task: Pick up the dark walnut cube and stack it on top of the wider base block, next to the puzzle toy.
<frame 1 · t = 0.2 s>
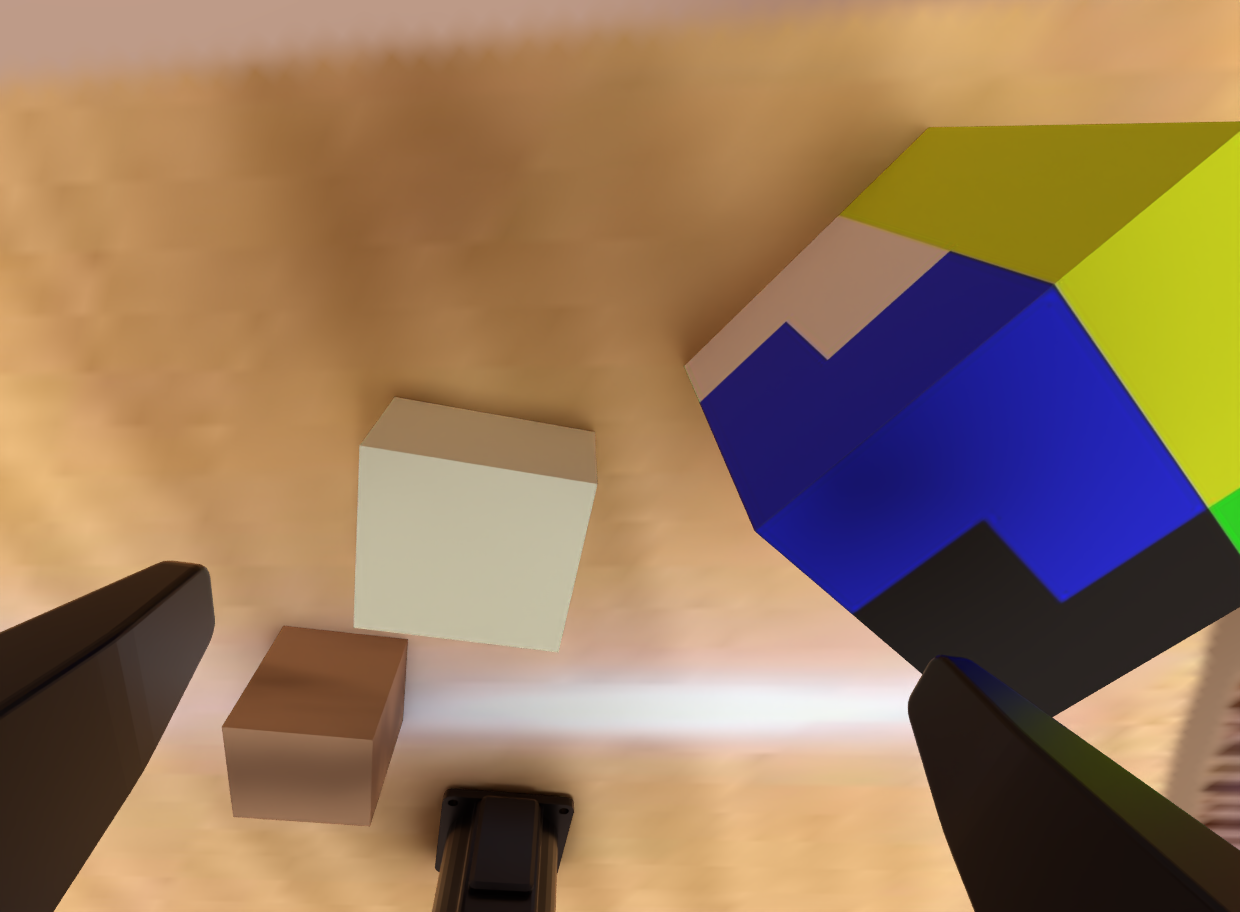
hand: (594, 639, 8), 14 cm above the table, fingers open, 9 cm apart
base block: (486, 495, 23), on the table
puzzle toy: (883, 355, 22), on the table
walnut cube: (347, 674, 27), on the table
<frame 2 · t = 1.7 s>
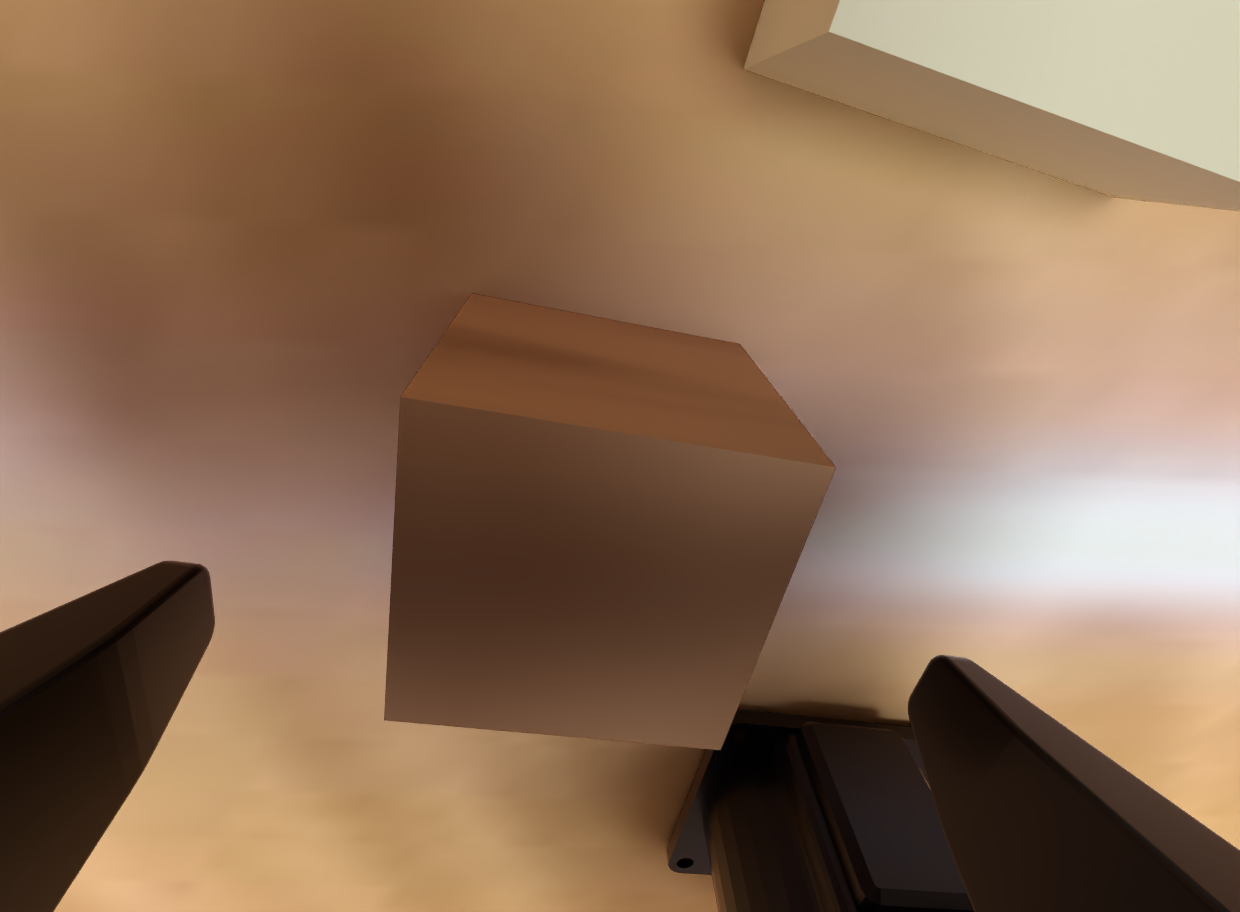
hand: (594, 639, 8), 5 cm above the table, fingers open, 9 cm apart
walnut cube: (585, 439, 12), on the table
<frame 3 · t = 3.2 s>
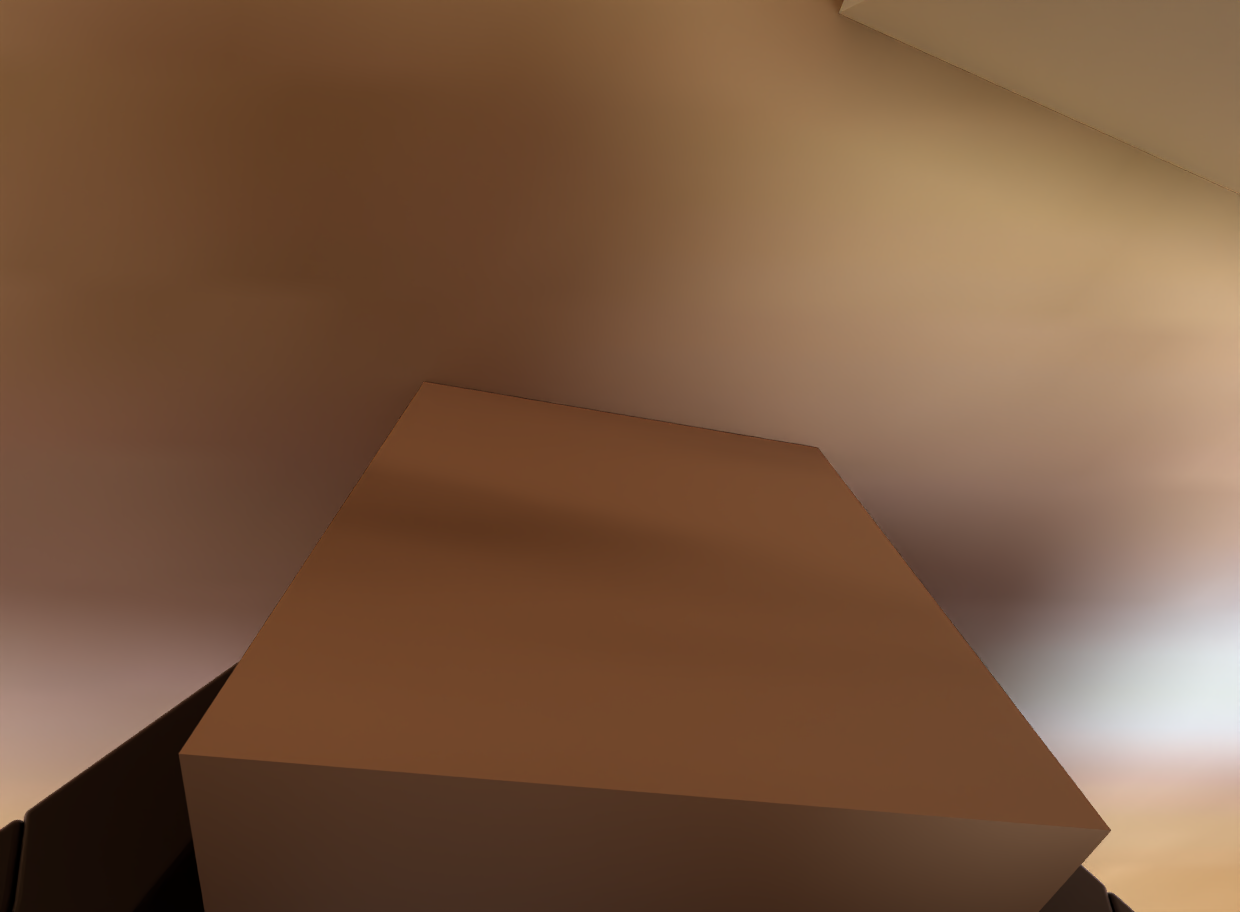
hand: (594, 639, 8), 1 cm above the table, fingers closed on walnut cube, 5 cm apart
walnut cube: (593, 575, 9), on the table, touching gripper
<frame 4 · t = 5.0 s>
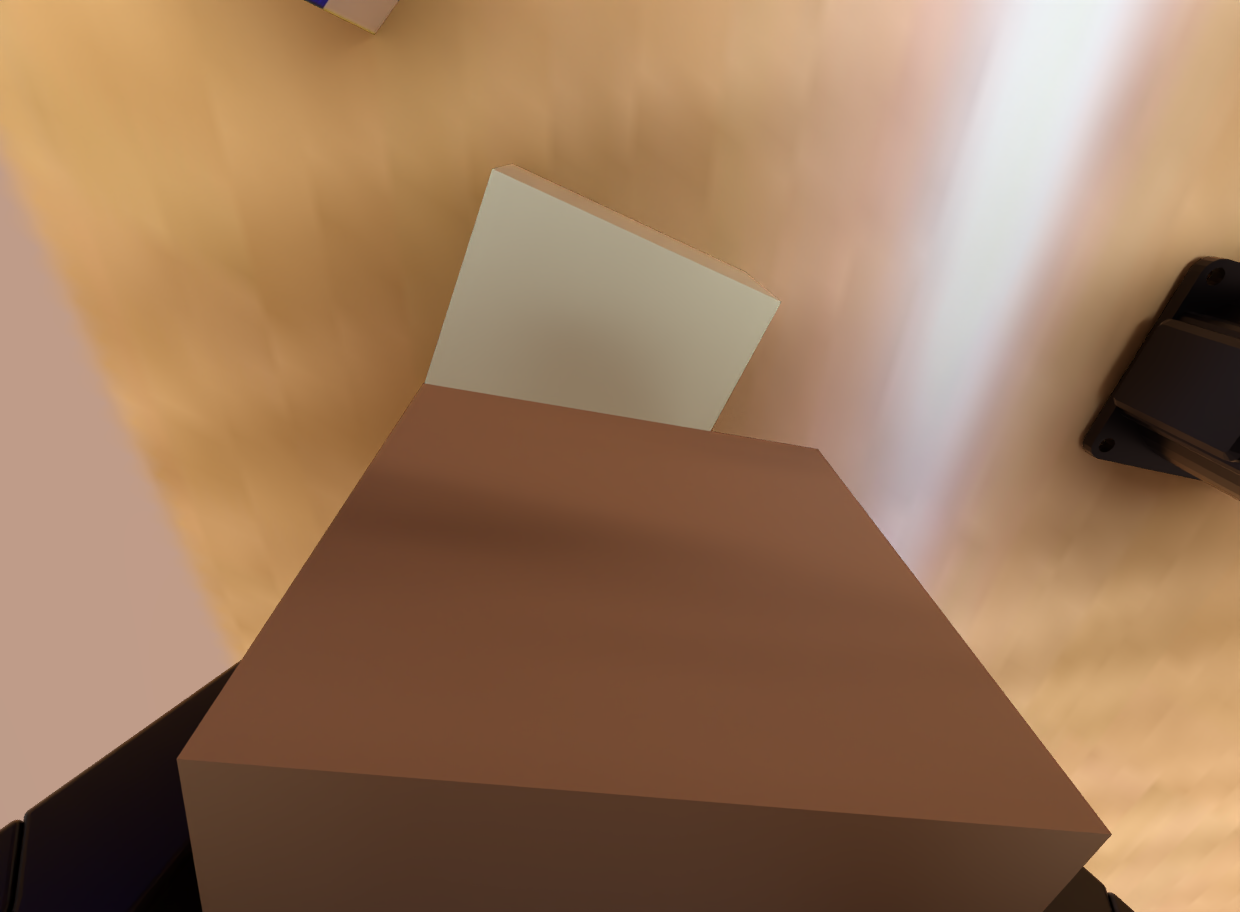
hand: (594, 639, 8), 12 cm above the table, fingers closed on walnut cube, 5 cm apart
base block: (585, 333, 19), on the table
walnut cube: (593, 577, 9), point 11 cm above the table, touching gripper
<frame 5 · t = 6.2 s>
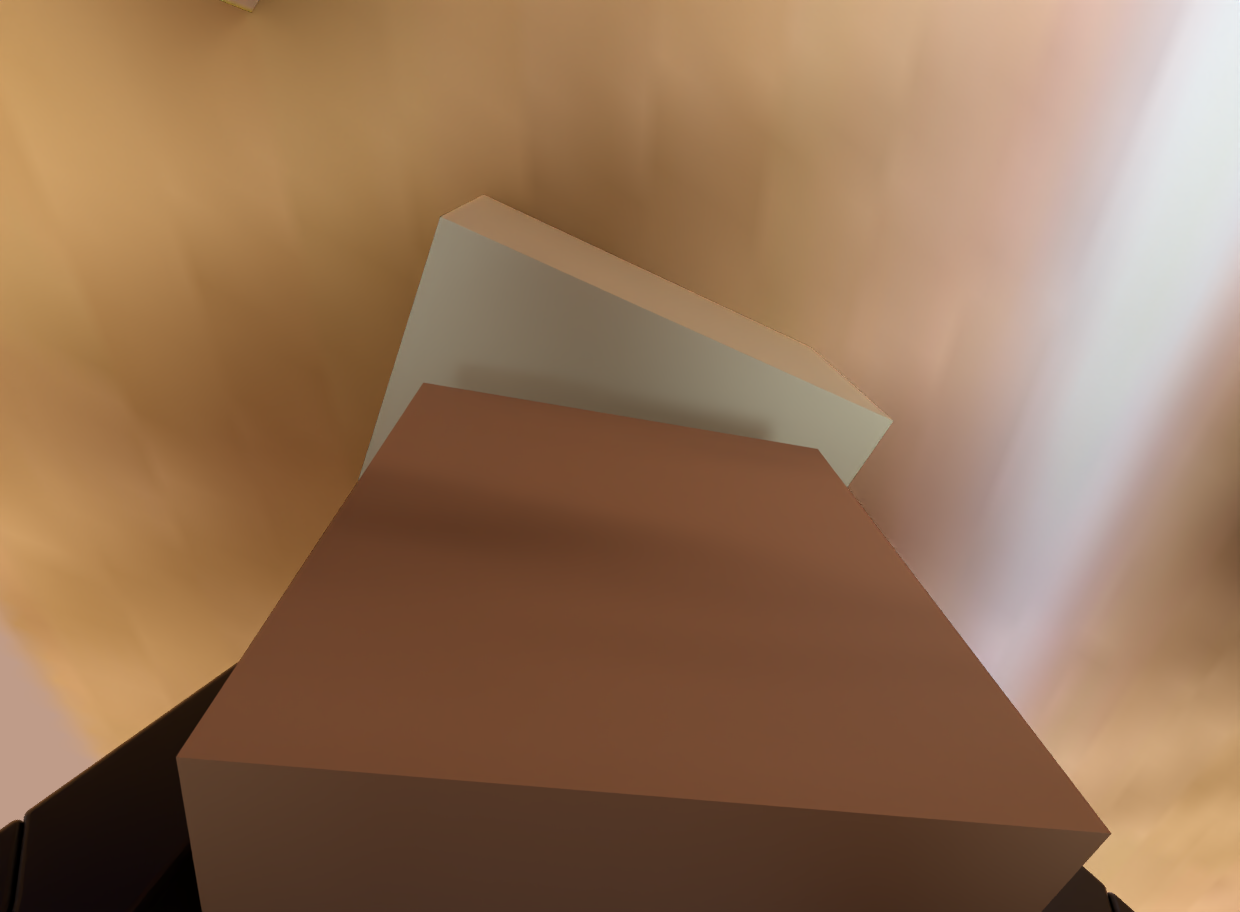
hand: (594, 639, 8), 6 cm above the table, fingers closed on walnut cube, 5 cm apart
base block: (586, 424, 13), on the table
walnut cube: (592, 576, 9), point 5 cm above the table, touching gripper
when the fingers open (6 cm above the table, at t = 6.9 s): walnut cube drops 1 cm, resting on base block.
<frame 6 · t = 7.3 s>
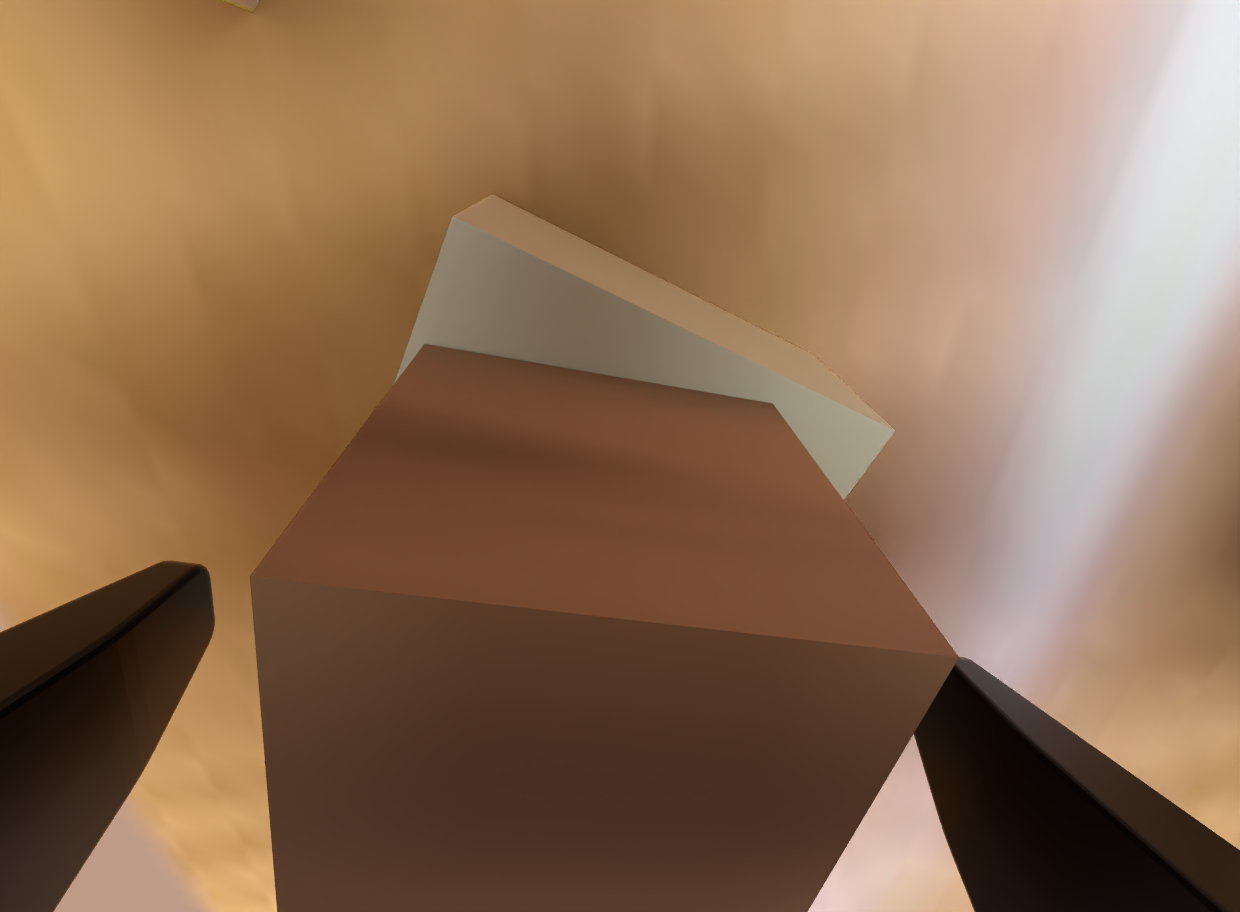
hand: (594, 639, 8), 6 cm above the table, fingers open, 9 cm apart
base block: (587, 425, 13), on the table, touching walnut cube
walnut cube: (576, 521, 10), point 4 cm above the table, touching base block
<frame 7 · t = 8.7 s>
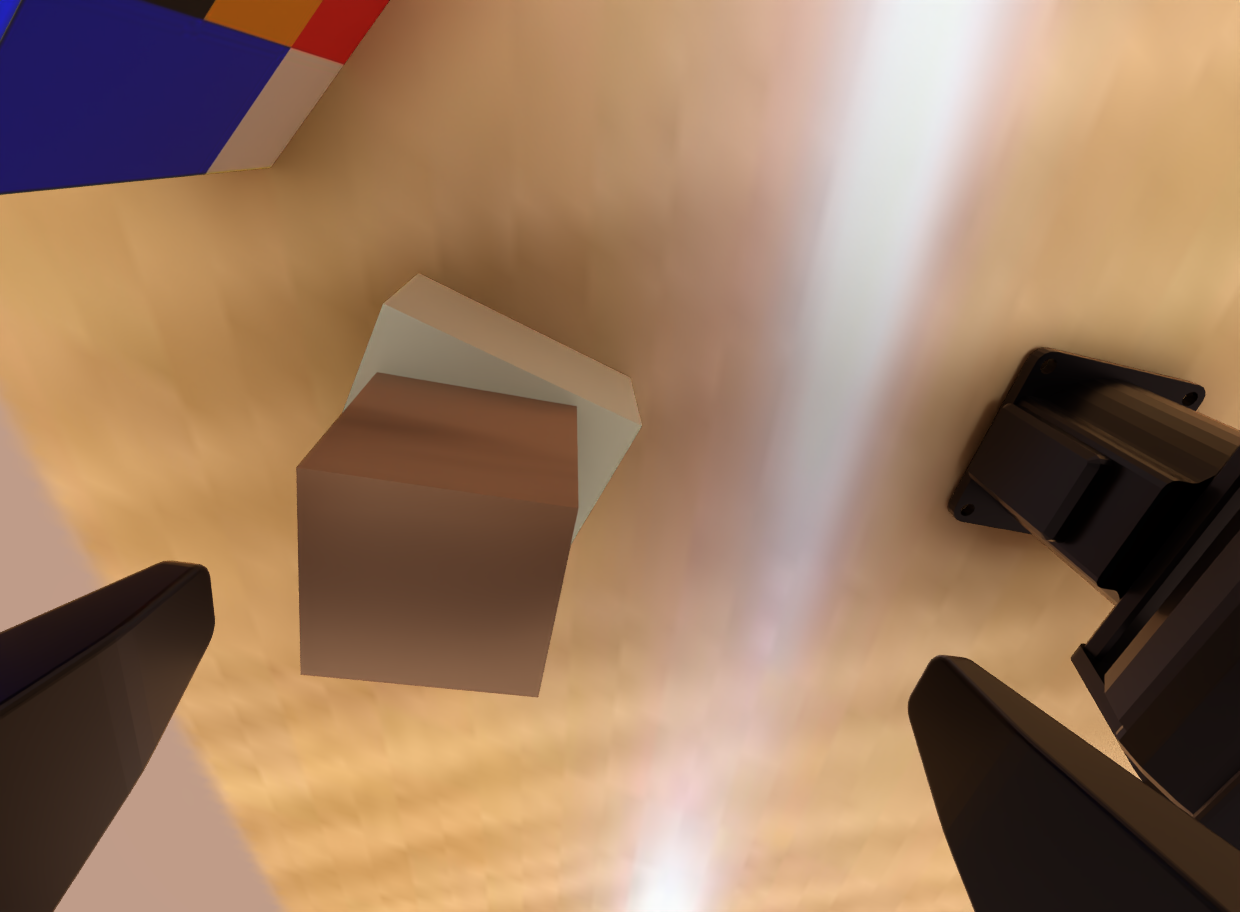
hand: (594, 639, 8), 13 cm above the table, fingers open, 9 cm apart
base block: (485, 418, 20), on the table, touching walnut cube
walnut cube: (469, 474, 17), point 4 cm above the table, touching base block
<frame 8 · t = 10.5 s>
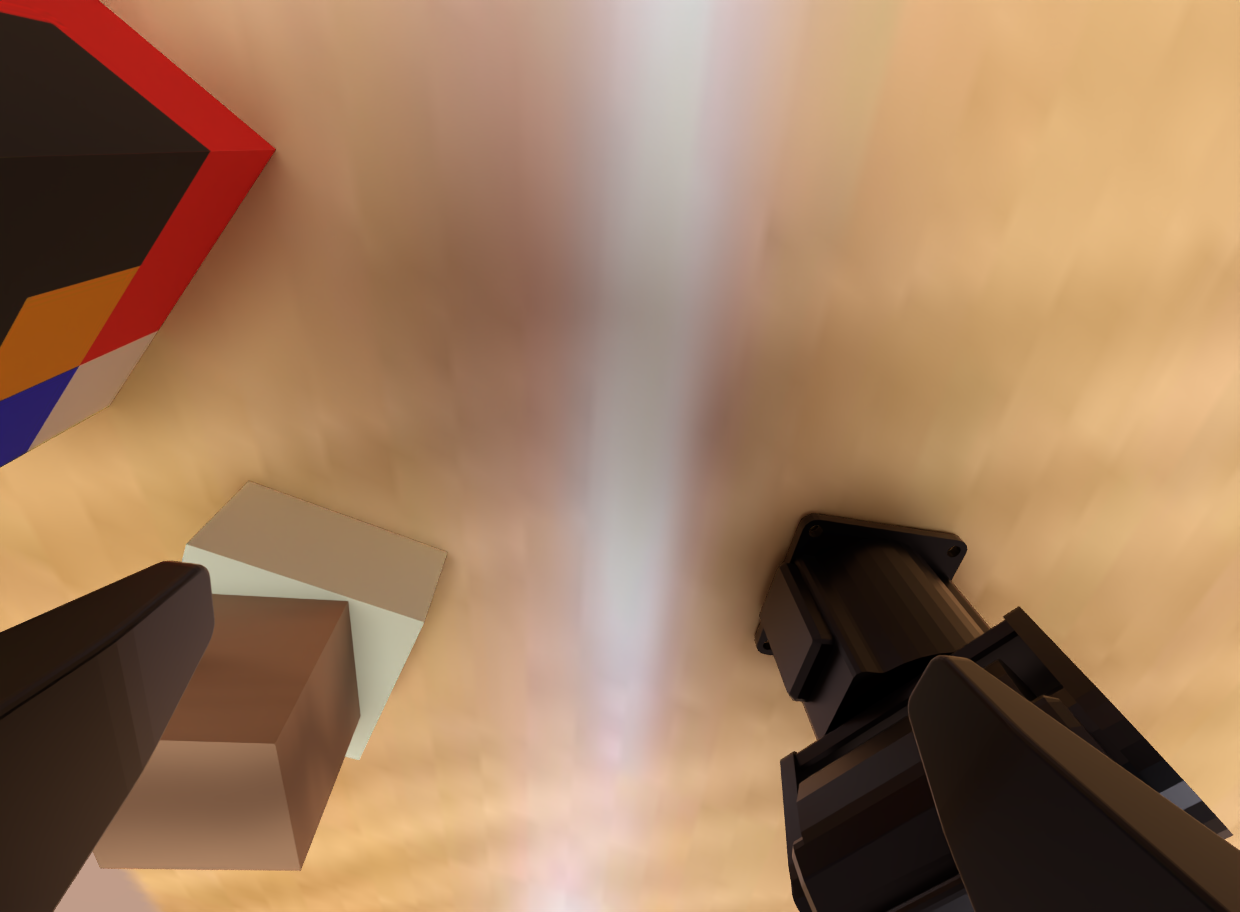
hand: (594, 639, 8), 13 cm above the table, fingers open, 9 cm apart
base block: (328, 584, 23), on the table, touching walnut cube
puzzle toy: (10, 156, 16), on the table
walnut cube: (273, 658, 20), point 4 cm above the table, touching base block
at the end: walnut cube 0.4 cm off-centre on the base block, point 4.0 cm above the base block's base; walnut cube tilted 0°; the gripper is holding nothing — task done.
